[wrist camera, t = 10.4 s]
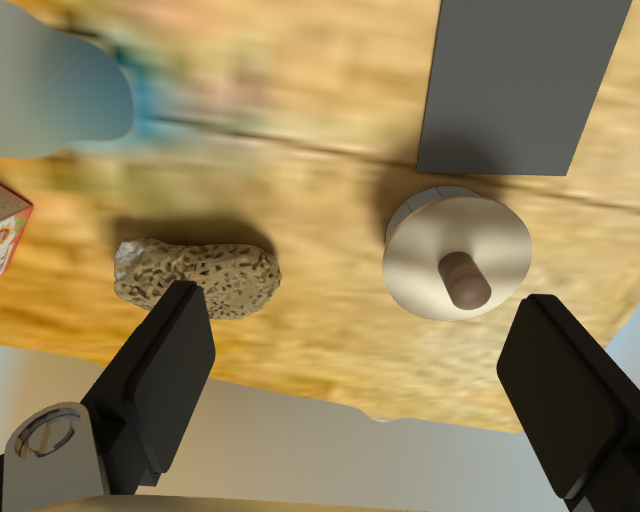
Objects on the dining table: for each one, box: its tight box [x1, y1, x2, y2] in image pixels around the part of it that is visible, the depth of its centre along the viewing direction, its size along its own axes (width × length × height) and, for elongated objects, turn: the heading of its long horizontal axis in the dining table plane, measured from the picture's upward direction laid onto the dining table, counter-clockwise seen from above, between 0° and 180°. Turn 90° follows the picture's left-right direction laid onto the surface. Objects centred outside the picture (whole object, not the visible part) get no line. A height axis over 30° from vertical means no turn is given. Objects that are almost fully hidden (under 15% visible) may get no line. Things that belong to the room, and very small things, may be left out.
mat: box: [416, 0, 632, 176], centre depth 34 cm, size 16×16×1 cm
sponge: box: [114, 238, 282, 320], centre depth 43 cm, size 13×8×20 cm
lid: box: [382, 195, 532, 321], centre depth 34 cm, size 15×15×6 cm
